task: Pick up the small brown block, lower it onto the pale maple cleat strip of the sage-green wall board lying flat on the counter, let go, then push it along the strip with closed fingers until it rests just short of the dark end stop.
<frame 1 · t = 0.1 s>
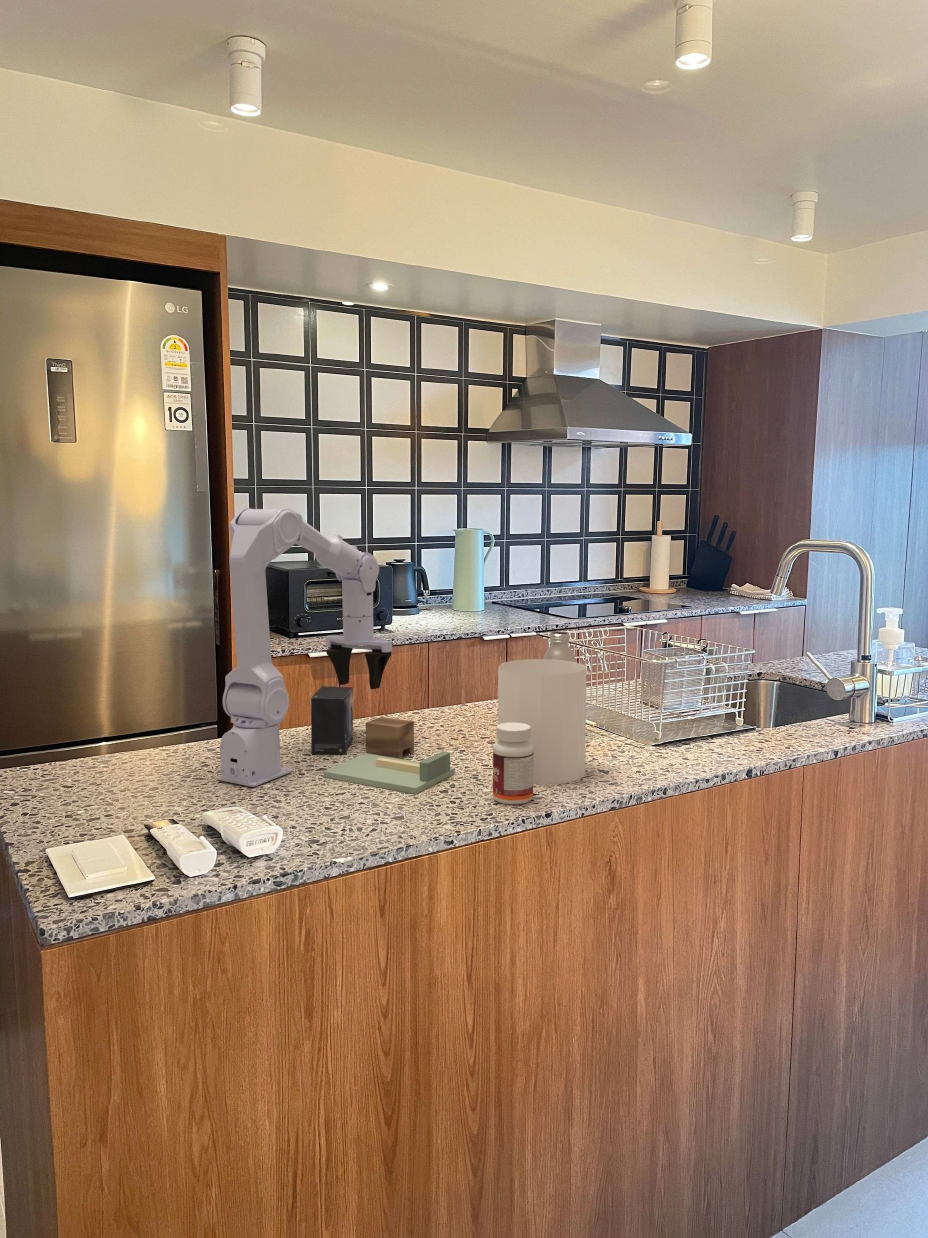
hand: (359, 686, 168), 10 cm above the worktop, tool pointing down, fingers open, 7 cm apart
small box: (333, 748, 163), on the worktop
brown block: (390, 754, 158), on the worktop
plastic bottle: (558, 735, 171), on the worktop
container: (542, 773, 148), on the worktop
wall board: (389, 775, 145), on the worktop
pill bottle: (513, 800, 134), on the worktop
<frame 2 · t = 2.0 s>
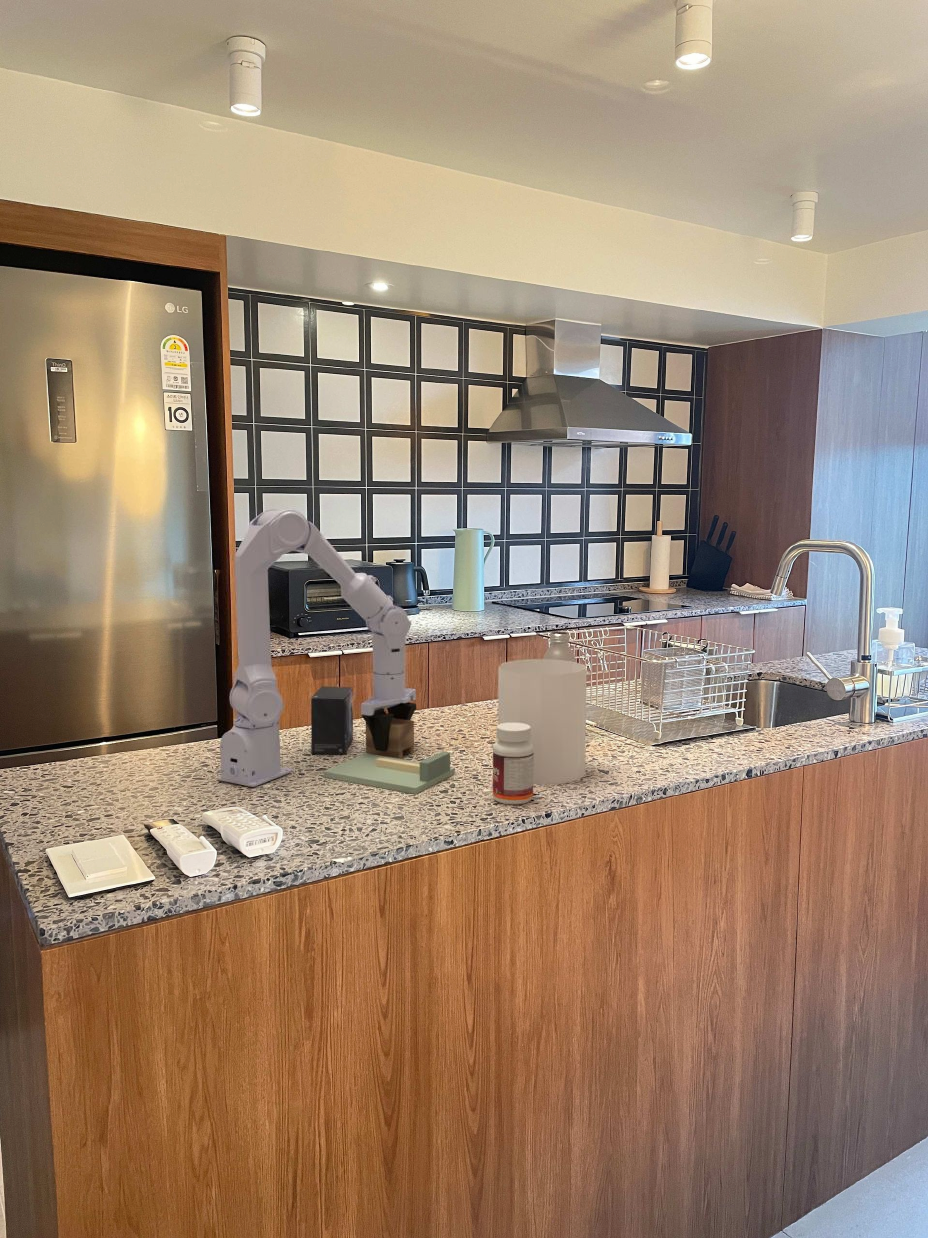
hand: (390, 746, 158), 1 cm above the worktop, tool pointing down, fingers closed on brown block, 5 cm apart
brown block: (390, 754, 158), on the worktop, touching gripper
everything else where it was.
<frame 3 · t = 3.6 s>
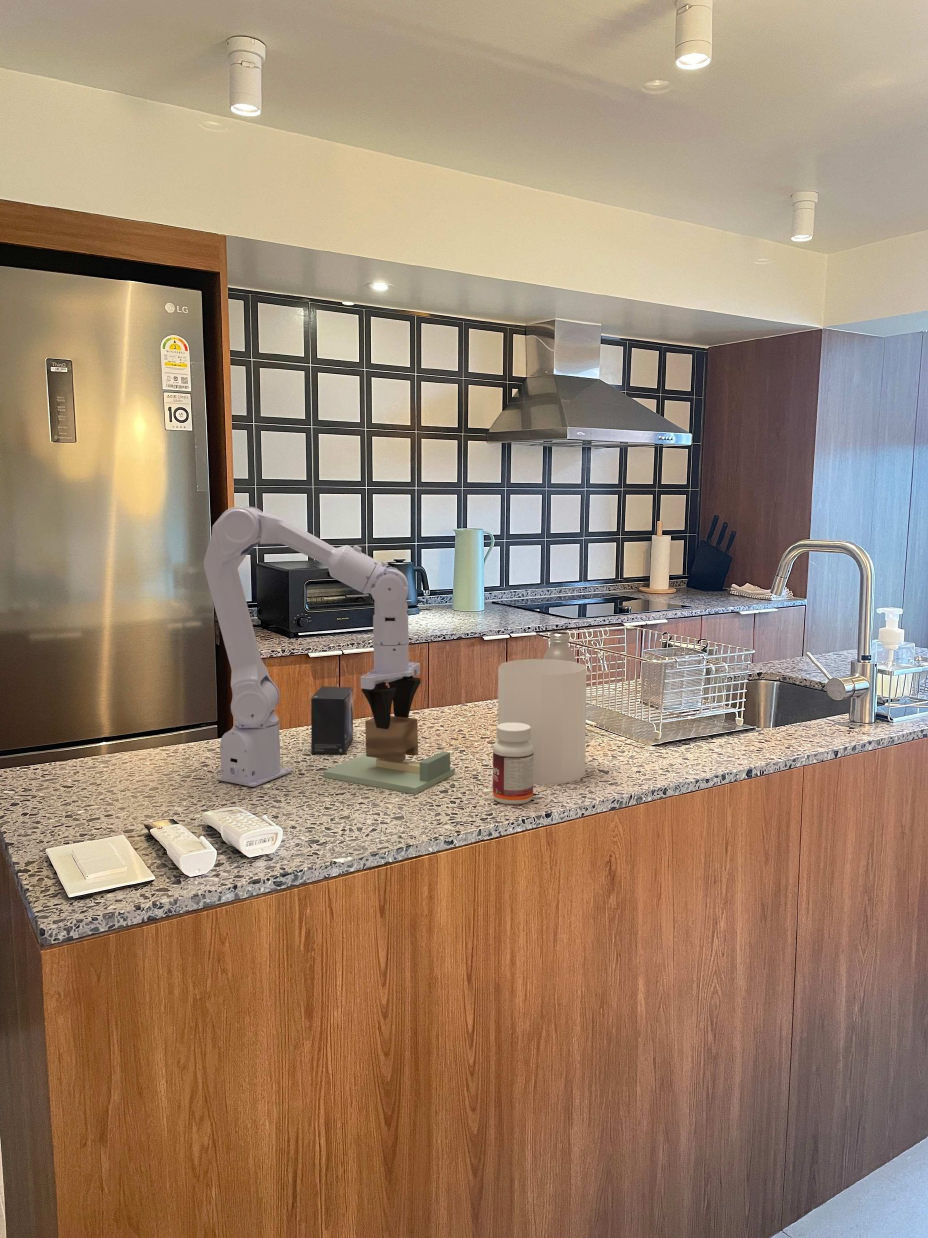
hand: (392, 724, 145), 8 cm above the worktop, tool pointing down, fingers closed on brown block, 5 cm apart
brown block: (392, 755, 146), point 3 cm above the worktop, touching gripper
everything else where it was.
when the fingers open (3 cm above the worktop, at t = 5.0 s): brown block stays where it is, resting on wall board.
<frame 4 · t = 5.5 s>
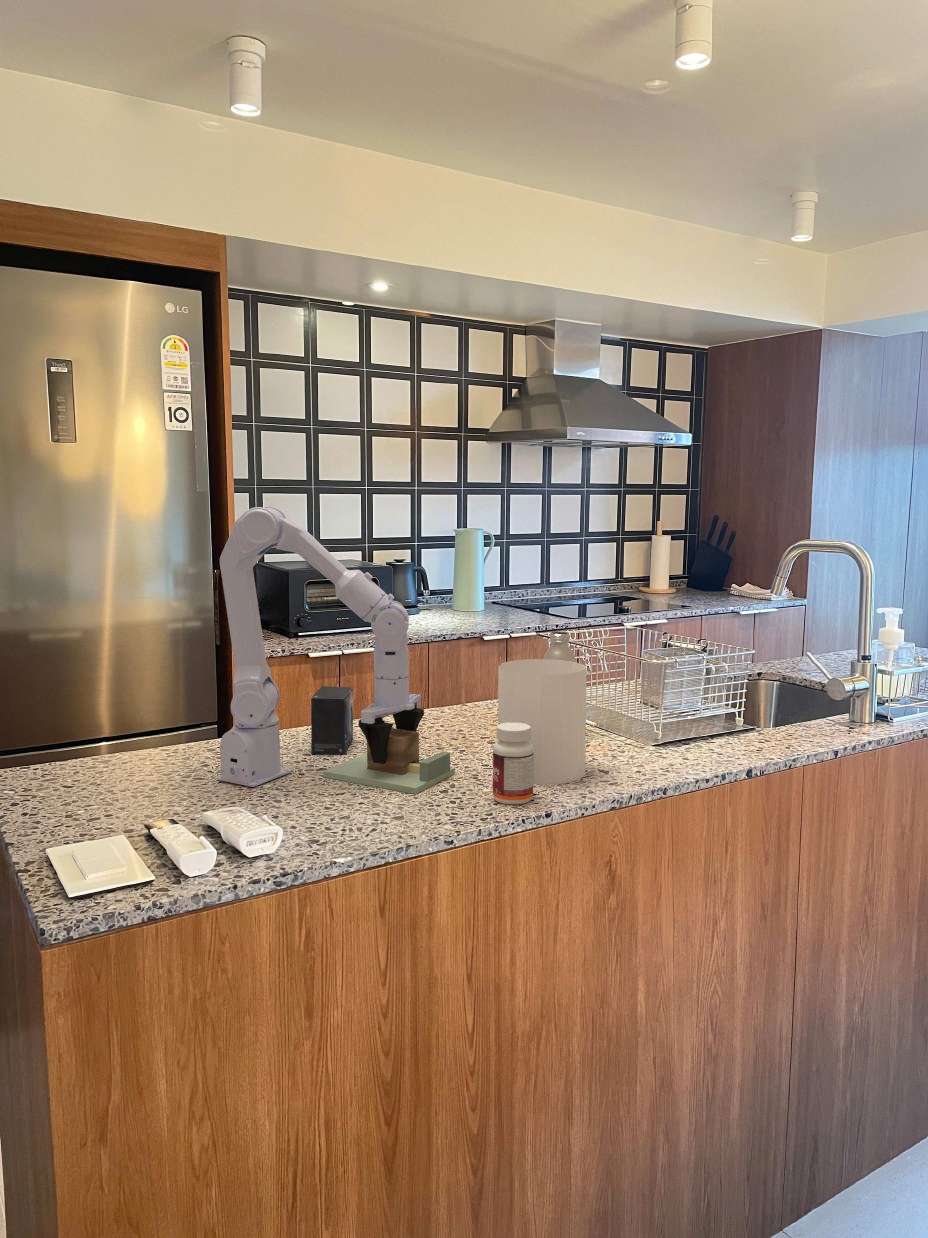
hand: (392, 756, 146), 3 cm above the worktop, tool pointing down, fingers open, 7 cm apart
brown block: (393, 768, 146), point 1 cm above the worktop, touching wall board
everything else where it was.
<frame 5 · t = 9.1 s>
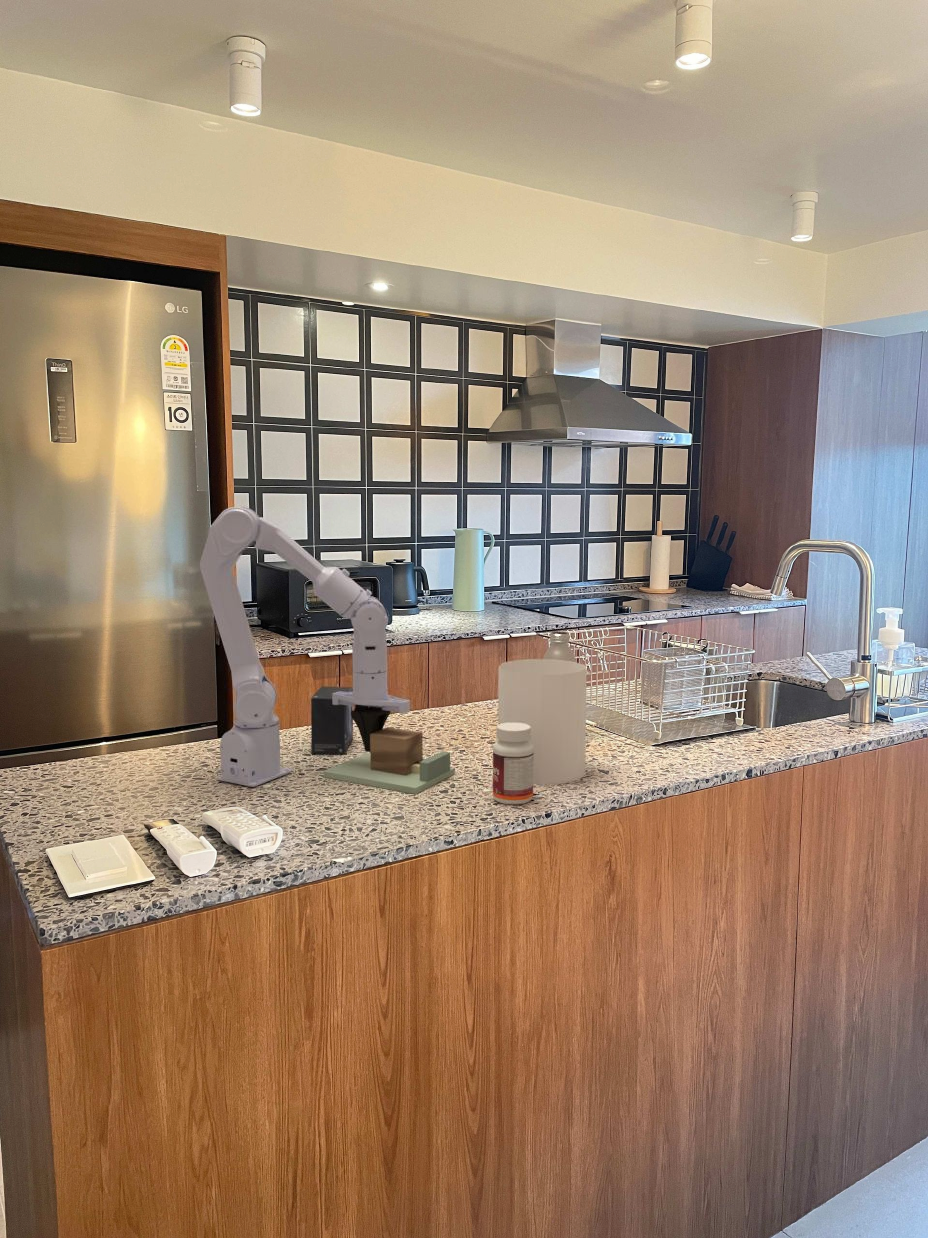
hand: (371, 750, 148), 3 cm above the worktop, tool pointing down, fingers closed
brown block: (396, 768, 146), point 1 cm above the worktop, touching gripper
everything else where it was.
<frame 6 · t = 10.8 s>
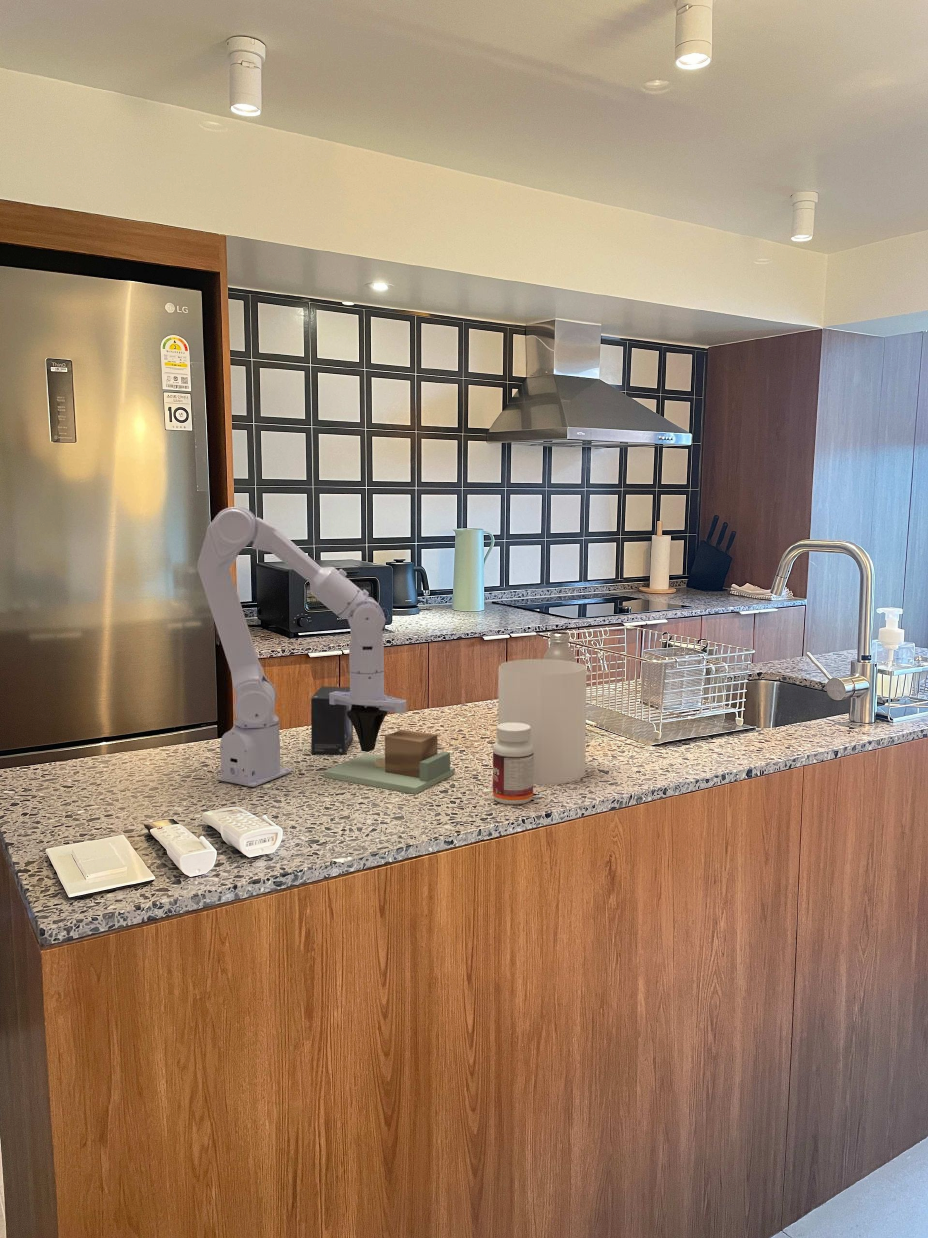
hand: (368, 750, 148), 3 cm above the worktop, tool pointing down, fingers closed
brown block: (411, 771, 144), point 1 cm above the worktop, touching wall board
everything else where it was.
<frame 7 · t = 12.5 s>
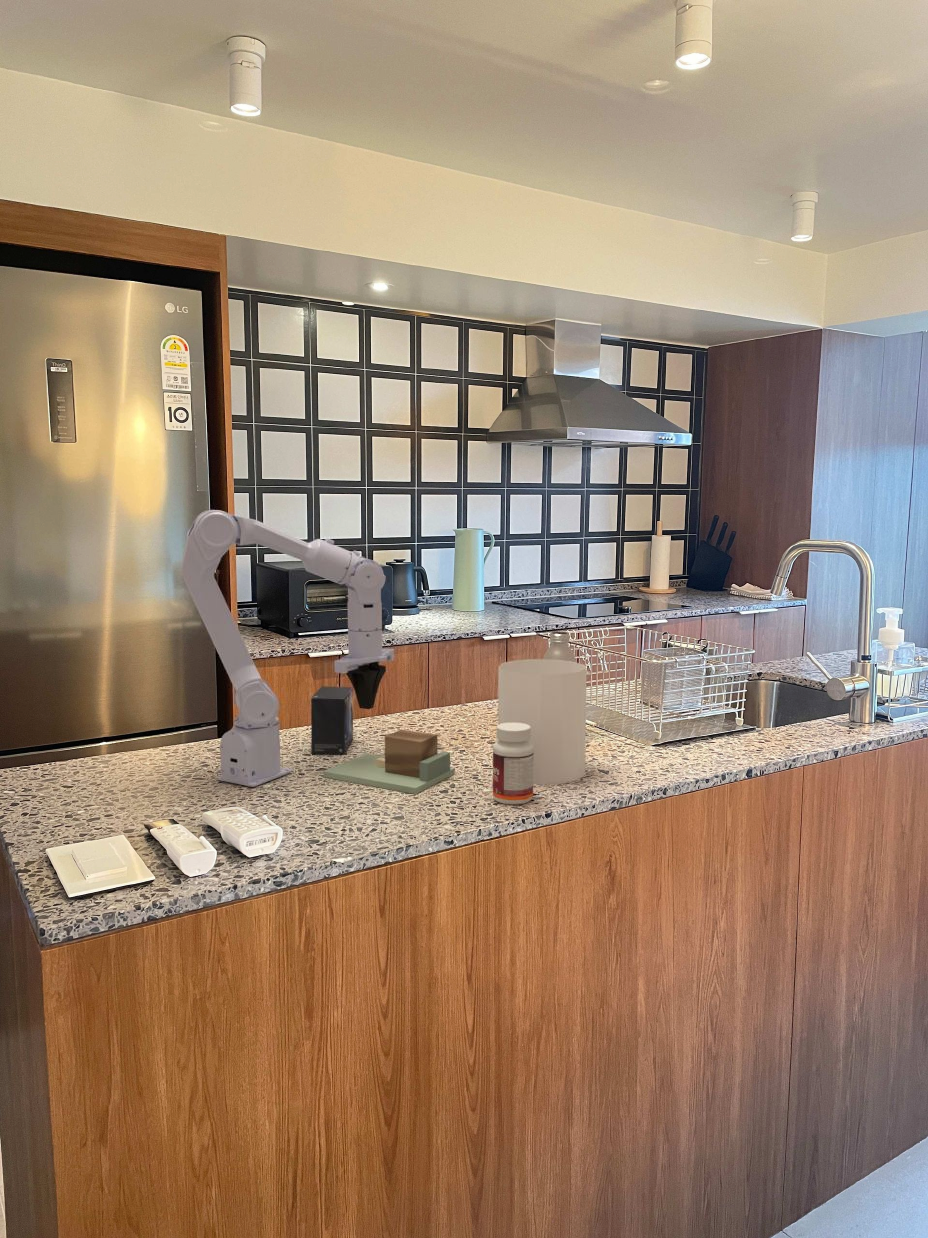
hand: (366, 708, 151), 10 cm above the worktop, tool pointing down, fingers closed
nothing on the worktop moved.
at the end: brown block 0.1 cm from the target spot on the wall board, point 1.0 cm above the wall board's base; brown block tilted 0°; the gripper is holding nothing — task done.
